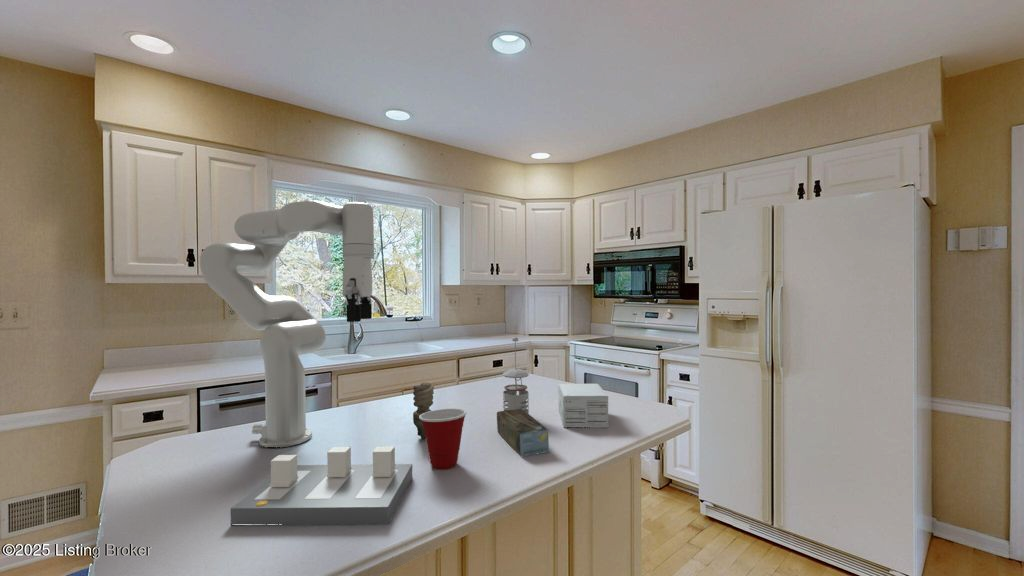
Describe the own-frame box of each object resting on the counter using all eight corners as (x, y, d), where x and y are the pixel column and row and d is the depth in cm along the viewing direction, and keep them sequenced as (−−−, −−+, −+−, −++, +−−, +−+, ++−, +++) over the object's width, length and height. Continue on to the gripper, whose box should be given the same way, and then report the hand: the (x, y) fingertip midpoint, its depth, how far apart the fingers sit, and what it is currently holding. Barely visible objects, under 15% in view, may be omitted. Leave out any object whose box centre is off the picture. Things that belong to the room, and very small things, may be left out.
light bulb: (436, 435, 119) (436, 380, 119) (431, 442, 113) (430, 385, 113) (416, 434, 119) (416, 380, 119) (410, 442, 114) (409, 385, 114)
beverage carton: (519, 458, 103) (518, 430, 103) (495, 433, 121) (495, 409, 121) (549, 453, 106) (549, 426, 106) (522, 429, 124) (522, 406, 124)
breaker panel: (230, 525, 74) (230, 507, 74) (285, 479, 92) (285, 464, 92) (387, 524, 74) (387, 506, 74) (412, 478, 92) (412, 463, 92)
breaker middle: (326, 477, 86) (326, 452, 86) (334, 469, 89) (334, 446, 89) (344, 477, 86) (344, 452, 86) (351, 469, 89) (351, 446, 89)
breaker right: (372, 476, 86) (372, 452, 86) (377, 469, 89) (377, 445, 89) (390, 476, 86) (390, 452, 86) (395, 469, 89) (395, 445, 89)
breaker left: (269, 487, 82) (269, 461, 82) (280, 478, 85) (279, 454, 85) (288, 486, 82) (288, 461, 82) (298, 478, 85) (298, 454, 85)
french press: (497, 422, 129) (496, 339, 129) (504, 411, 141) (503, 334, 141) (529, 424, 128) (529, 339, 128) (534, 412, 139) (533, 334, 139)
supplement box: (609, 428, 124) (609, 395, 124) (563, 428, 124) (562, 395, 124) (598, 411, 141) (598, 382, 141) (558, 411, 141) (557, 382, 141)
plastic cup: (448, 451, 107) (448, 403, 107) (476, 464, 99) (476, 411, 99) (410, 464, 99) (409, 412, 99) (437, 479, 92) (436, 422, 92)
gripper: (354, 255, 118) (355, 318, 118) (330, 249, 101) (332, 323, 101) (382, 254, 118) (383, 317, 118) (363, 249, 101) (365, 322, 101)
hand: (359, 320), depth 110 cm, fingers open, 9 cm apart
